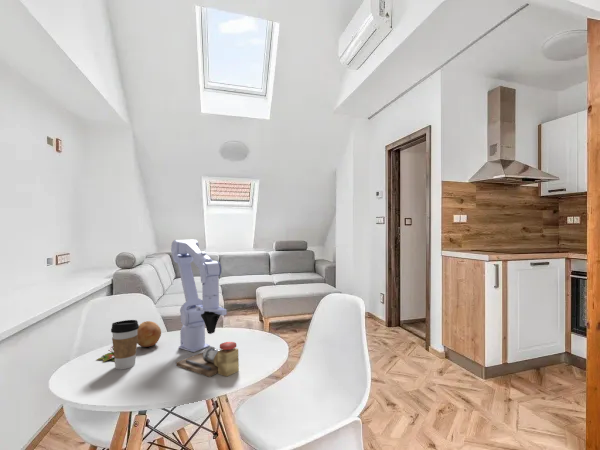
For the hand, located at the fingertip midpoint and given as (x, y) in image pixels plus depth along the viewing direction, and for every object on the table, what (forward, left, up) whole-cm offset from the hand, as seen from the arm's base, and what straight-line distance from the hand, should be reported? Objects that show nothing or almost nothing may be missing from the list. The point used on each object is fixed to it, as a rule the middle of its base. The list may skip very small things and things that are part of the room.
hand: (211, 332), depth 114 cm
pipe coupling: (+7, -6, -8) cm, 12 cm away
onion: (-32, -5, -9) cm, 34 cm away
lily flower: (-32, -18, -10) cm, 38 cm away
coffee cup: (-20, -20, -9) cm, 30 cm away
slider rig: (+6, -5, -9) cm, 12 cm away
